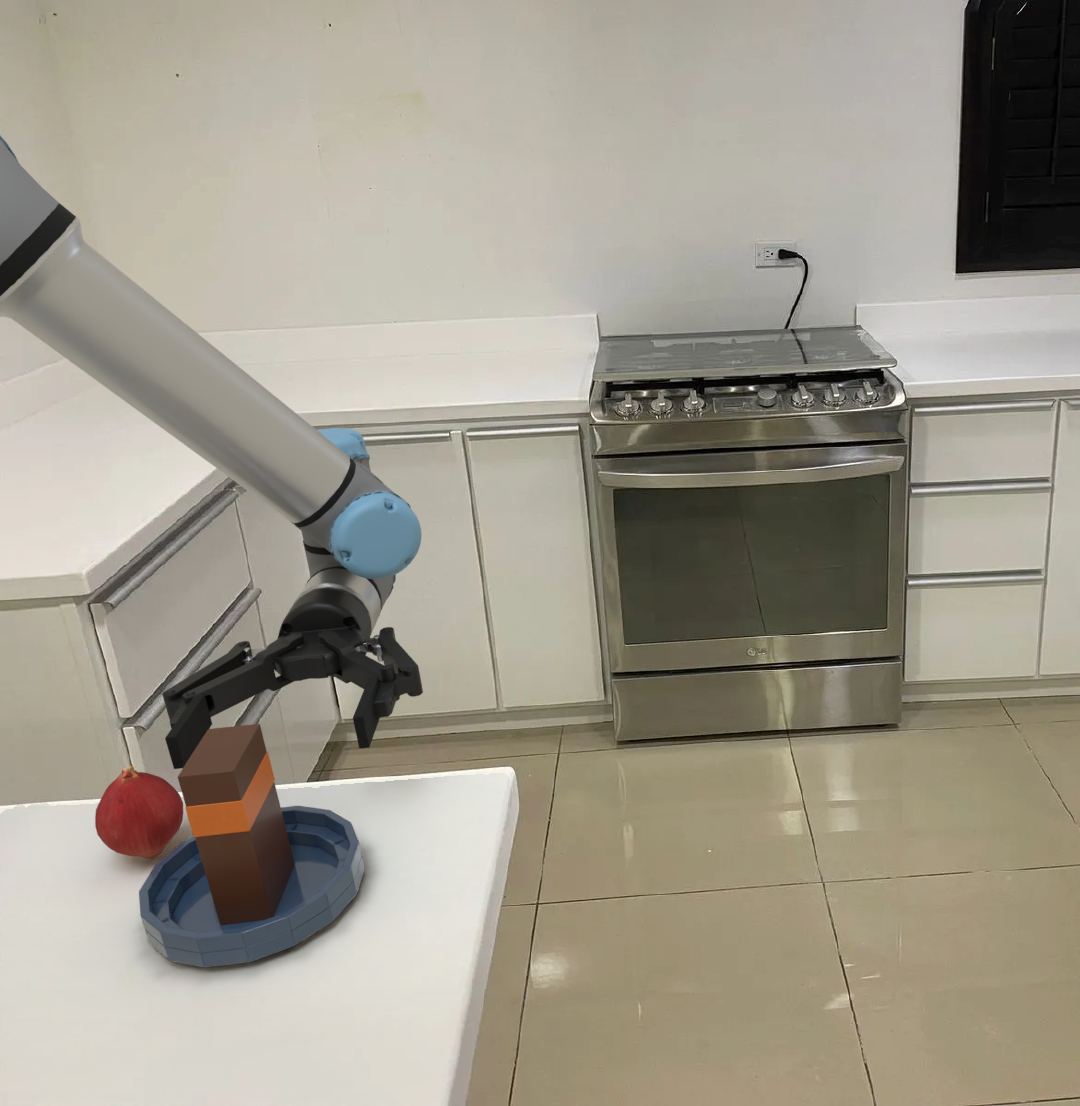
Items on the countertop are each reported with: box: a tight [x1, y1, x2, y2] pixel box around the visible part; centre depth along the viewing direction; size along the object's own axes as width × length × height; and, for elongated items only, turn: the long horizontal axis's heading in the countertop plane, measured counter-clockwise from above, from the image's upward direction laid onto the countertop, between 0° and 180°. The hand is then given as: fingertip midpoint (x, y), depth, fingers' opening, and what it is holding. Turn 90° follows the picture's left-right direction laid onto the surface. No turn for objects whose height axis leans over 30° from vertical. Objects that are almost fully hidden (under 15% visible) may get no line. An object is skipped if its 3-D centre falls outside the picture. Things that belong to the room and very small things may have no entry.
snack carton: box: [177, 723, 295, 925], centre depth 74 cm, size 4×6×12 cm, turn 7°
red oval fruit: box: [94, 765, 184, 860], centre depth 81 cm, size 6×6×8 cm
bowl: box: [138, 805, 366, 968], centre depth 76 cm, size 14×14×3 cm
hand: (268, 743), depth 81 cm, fingers open, 13 cm apart
